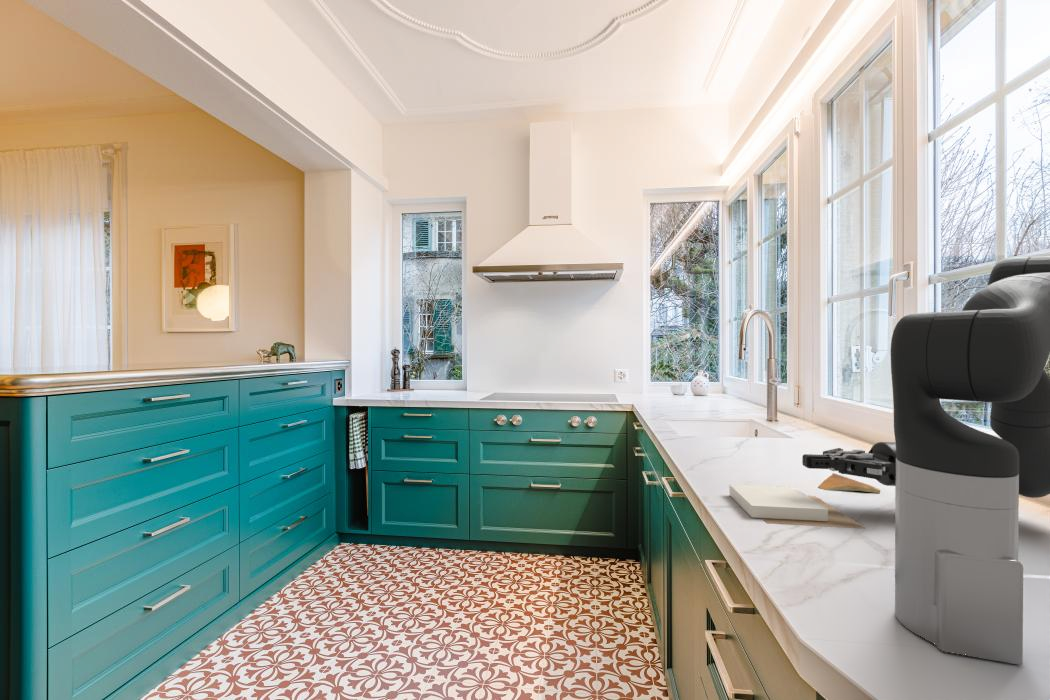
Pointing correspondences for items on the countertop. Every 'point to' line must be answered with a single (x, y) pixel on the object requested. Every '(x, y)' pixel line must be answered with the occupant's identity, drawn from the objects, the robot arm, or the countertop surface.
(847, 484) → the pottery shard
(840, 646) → the countertop surface
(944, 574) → the robot arm
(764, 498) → the tile
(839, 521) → the plate
